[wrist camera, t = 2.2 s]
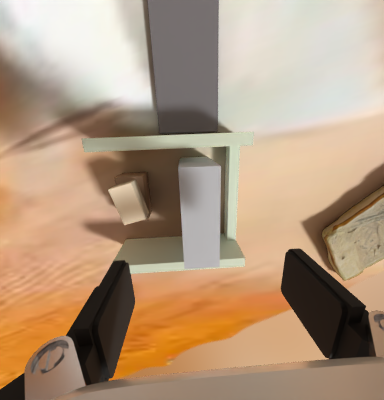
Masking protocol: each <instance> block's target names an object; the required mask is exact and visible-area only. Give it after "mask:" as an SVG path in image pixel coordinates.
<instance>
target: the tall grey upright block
mask: <svg viewBox="0 0 384 400" xmlns="http://www.w3.org/2000/svg"><path fill="white" fill-rule="evenodd" d="M178 174H179V189H180V205H181V221H182V237H183V253H184V269H194V268H210V267H220V198H221V166H220V165H219V164H217V163H216V162H214V161H213V160H211V159H210V158H208V157H186V158H180V160H179V166H178Z"/></svg>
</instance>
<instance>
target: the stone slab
mask: <svg viewBox="0 0 384 400" xmlns="http://www.w3.org/2000/svg"><path fill="white" fill-rule="evenodd" d="M322 236H323V240H324V241H325V244H326V246H327V249H328V259H329V262H330V264H331V265H332V267H333V268H334V270H335V271H336V273H337V274H338V275H339V276H340V277H341V278H342V279H343V280H345V281H346V280H349V279H351V278H354V277H356V276H358V275H359V274H361V273H362V272H363V270H364V269H365V268H367V267H369V266H372V265H373V264H375V263H377V262H379V261H381V260H382V259H384V186H383V187H381V188H380V189H378V190H377V191H375V192H374V193H372V194H371V195H369V196H367V197H366V198H365V199H363V200H362V201H361V202H359V203H358V204H356V205H355V206H353V207H352V208H351V209H349V210H348V211H347V212H346V213H344V214H343V215H342V216H340V218H339V219H338V220H337V221H335V222H333V223H332V224H331V225H329V226H328V227H327V228H325V229H324V230H323V233H322Z"/></svg>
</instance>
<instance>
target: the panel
mask: <svg viewBox="0 0 384 400" xmlns="http://www.w3.org/2000/svg"><path fill="white" fill-rule="evenodd" d="M218 9H219V0H148V11H149V22H150V33H151V44H152V55H153V66H154V77H155V88H156V99H157V110H158V122H159V133H160V134H164V133H190V132H215V131H218Z"/></svg>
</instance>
